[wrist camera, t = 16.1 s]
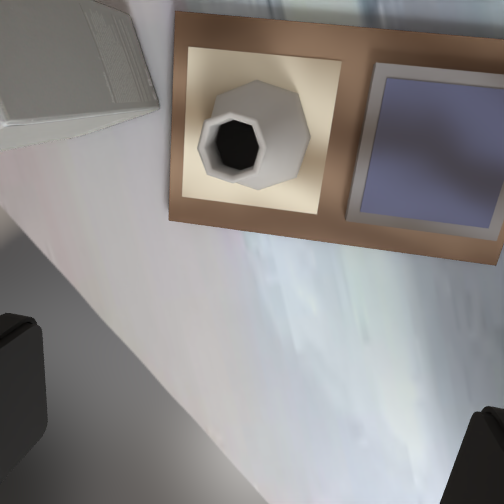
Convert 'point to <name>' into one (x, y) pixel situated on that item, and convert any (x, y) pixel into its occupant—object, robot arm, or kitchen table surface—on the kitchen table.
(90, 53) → the skincare box
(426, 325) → the kitchen table surface
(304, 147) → the flask
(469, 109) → the board
